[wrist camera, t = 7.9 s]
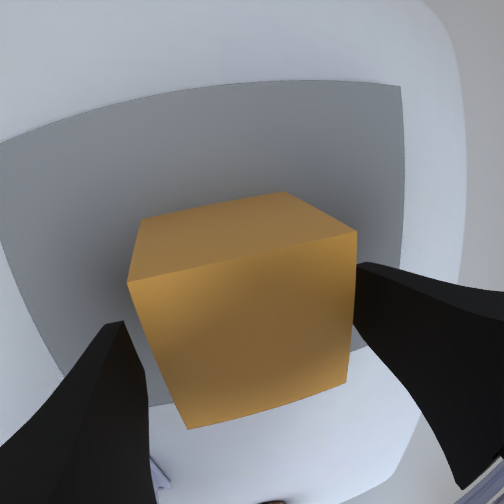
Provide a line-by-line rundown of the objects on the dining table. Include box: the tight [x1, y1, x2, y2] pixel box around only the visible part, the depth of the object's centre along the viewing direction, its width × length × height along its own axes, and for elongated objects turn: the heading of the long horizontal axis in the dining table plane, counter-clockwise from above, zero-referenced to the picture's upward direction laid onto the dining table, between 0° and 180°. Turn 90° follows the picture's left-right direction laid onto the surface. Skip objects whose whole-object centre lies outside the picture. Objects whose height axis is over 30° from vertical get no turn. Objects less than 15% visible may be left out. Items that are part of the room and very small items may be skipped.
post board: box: [0, 80, 405, 407], centre depth 11 cm, size 18×14×5 cm
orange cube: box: [127, 191, 357, 429], centre depth 10 cm, size 6×6×5 cm
